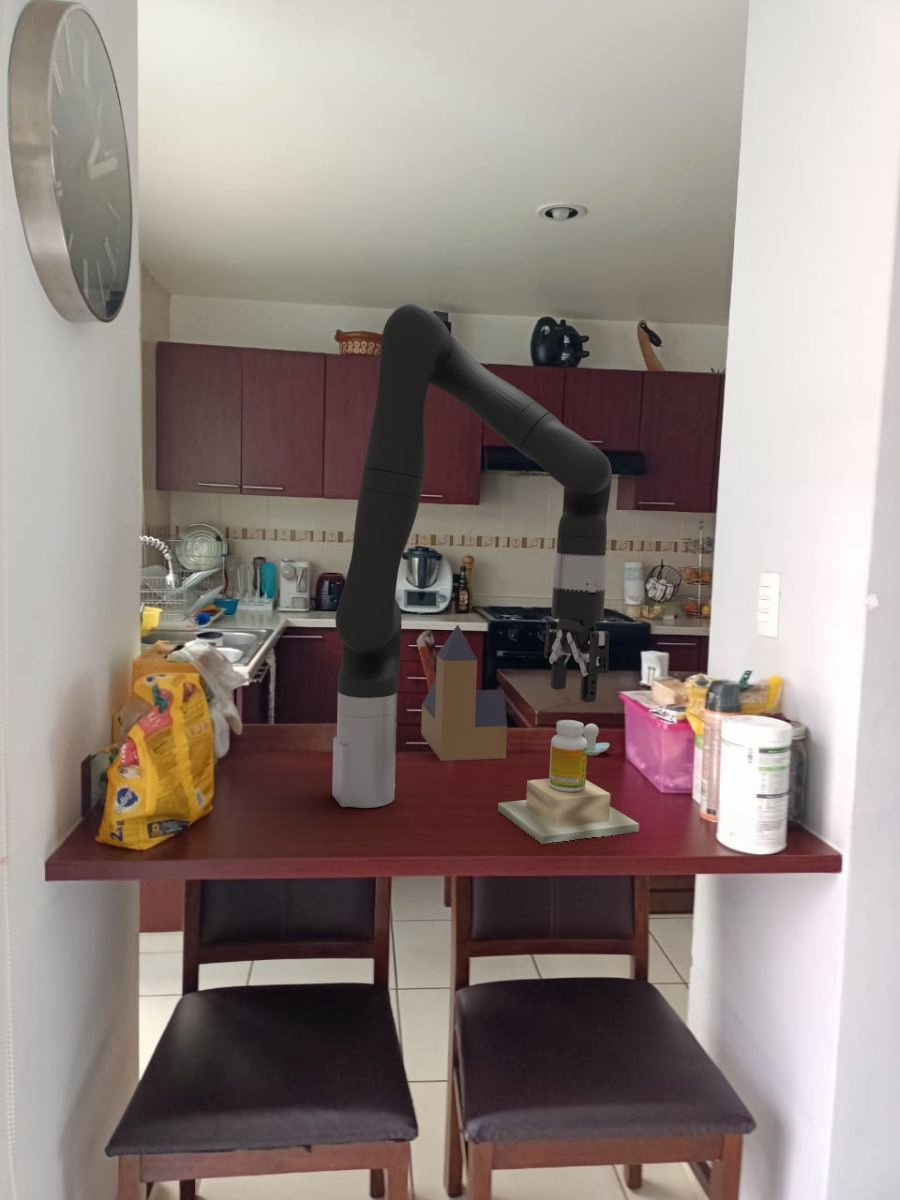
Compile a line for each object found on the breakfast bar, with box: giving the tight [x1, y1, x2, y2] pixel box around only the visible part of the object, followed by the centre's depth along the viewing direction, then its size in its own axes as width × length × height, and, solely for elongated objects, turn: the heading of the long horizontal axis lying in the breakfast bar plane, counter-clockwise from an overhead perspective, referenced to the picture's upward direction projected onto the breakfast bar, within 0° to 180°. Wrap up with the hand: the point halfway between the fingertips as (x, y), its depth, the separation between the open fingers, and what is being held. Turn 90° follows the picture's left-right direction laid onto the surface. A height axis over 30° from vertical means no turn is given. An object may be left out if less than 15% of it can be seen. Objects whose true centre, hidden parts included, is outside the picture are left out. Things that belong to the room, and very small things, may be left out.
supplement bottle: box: [548, 719, 588, 792], centre depth 123 cm, size 5×5×10 cm
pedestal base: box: [497, 778, 640, 845], centre depth 123 cm, size 16×14×5 cm
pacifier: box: [582, 723, 610, 757], centre depth 160 cm, size 7×6×6 cm
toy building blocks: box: [420, 624, 508, 762], centre depth 161 cm, size 12×19×25 cm
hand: (572, 695), depth 122 cm, fingers open, 8 cm apart
